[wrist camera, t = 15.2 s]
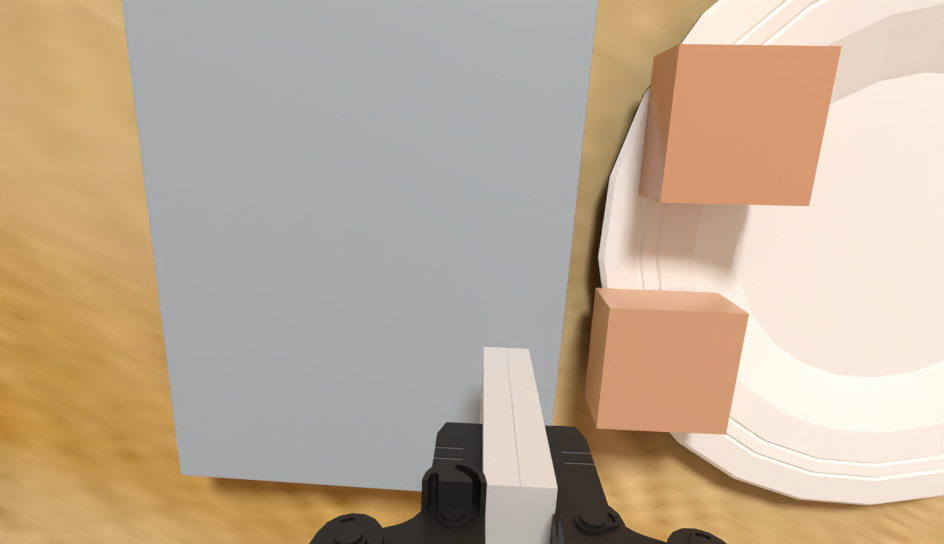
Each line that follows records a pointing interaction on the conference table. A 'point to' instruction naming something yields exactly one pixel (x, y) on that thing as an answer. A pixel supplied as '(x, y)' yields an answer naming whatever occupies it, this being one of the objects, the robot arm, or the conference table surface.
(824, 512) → the conference table surface
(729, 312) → the tile
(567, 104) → the board
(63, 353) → the conference table surface
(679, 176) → the tile
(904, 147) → the plate
